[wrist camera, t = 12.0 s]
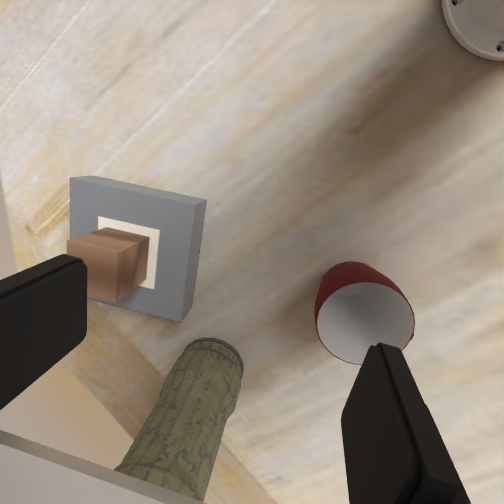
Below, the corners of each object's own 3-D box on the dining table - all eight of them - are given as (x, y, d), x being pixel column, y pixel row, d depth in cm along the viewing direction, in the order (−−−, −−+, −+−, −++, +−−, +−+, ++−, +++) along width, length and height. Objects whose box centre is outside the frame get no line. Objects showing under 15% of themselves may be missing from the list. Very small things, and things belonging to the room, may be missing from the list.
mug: (418, 275, 34) (464, 319, 24) (380, 331, 36) (408, 391, 27) (331, 235, 34) (343, 264, 25) (300, 294, 37) (299, 341, 27)
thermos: (263, 353, 40) (75, 1311, 7) (218, 409, 44) (-42, 1195, 11) (206, 316, 40) (-284, 1128, 6) (166, 376, 43) (-270, 1076, 10)
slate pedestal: (94, 175, 36) (68, 177, 32) (206, 200, 35) (194, 205, 31) (91, 281, 41) (68, 295, 37) (191, 306, 39) (179, 323, 35)
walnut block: (106, 226, 33) (66, 240, 28) (149, 236, 33) (118, 253, 27) (105, 268, 35) (66, 290, 29) (146, 278, 34) (115, 302, 29)
